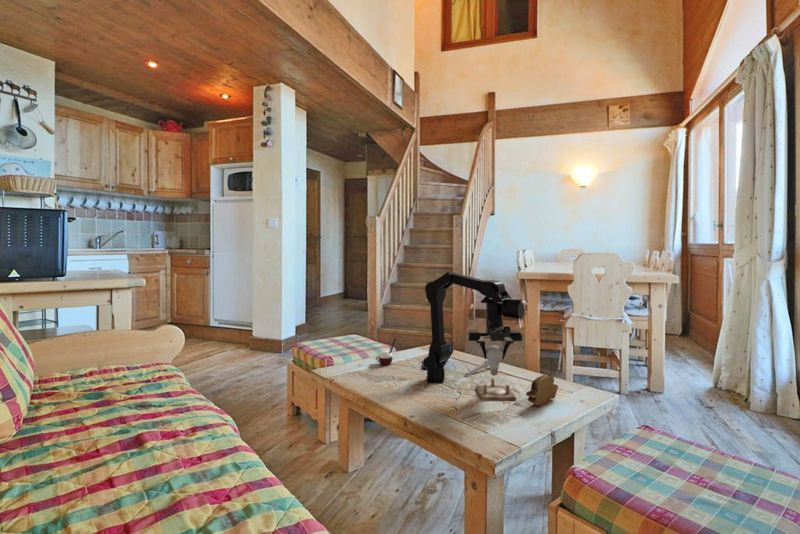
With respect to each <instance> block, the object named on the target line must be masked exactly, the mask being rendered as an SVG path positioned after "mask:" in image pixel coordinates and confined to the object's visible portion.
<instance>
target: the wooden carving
mask: <svg viewBox="0 0 800 534" xmlns="http://www.w3.org/2000/svg"><path fill="white" fill-rule="evenodd" d="M530 386H531V387H530V391H527V392H525V393H526V394H525V395H526V396H527V397H528V398H527V402H530V403H532V404H534V405H535V406H538V407H541V406H545V405H546V404H547V403H548V402H549V401H550V400H552V399H555V398H556V396H557V395H556V394H557V392H558V389H559V386H558V384H555V376H554V375H551V374H542V375H540V376H538V377H536V378H535V379H534V380H533V381H532V382H531V385H530Z"/></svg>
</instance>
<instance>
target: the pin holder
mask: <svg viewBox="0 0 800 534" xmlns="http://www.w3.org/2000/svg"><path fill="white" fill-rule="evenodd" d="M475 389H476V391H478V392H477V394H478V396H479V400H481V401H516V400H517V397H516V396H515V394H514V392H513V391H512V390H511V388H510V385H509V384H505V385H495V378H491V379H490V385H487V384H483V385H475Z"/></svg>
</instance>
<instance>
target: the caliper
mask: <svg viewBox="0 0 800 534" xmlns="http://www.w3.org/2000/svg"><path fill="white" fill-rule="evenodd" d="M488 367H490V365H489V362H488V360H487V359H484V361H483V362H481V364H479V365H477V366H475V367H474V368H472V369H470V370H469V371H467V372H466V373H465V374H464V377H465V376H467V377H470V376H472V375H475V373H477V372H478V371H480V370H482V369H483V368H488ZM469 375H470V376H469Z"/></svg>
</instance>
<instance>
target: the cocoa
mask: <svg viewBox="0 0 800 534" xmlns="http://www.w3.org/2000/svg"><path fill="white" fill-rule="evenodd" d="M396 340H397V338H393V342H392V344H391V347H390V350H389V351H388V350H386V349H385V350H383V351H381V352H379V353H378V356H376V357H375V360H376V361H377V362H378V363H379V364H381V366H390V365H391V364H392V362H393V353H392V352H393V349H394V345H395V343H396Z"/></svg>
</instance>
